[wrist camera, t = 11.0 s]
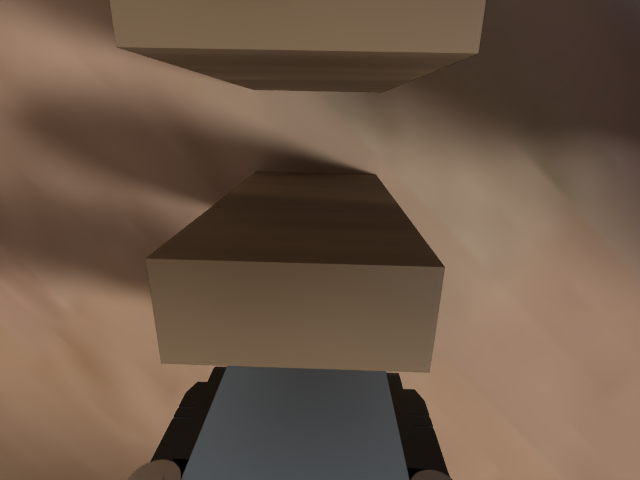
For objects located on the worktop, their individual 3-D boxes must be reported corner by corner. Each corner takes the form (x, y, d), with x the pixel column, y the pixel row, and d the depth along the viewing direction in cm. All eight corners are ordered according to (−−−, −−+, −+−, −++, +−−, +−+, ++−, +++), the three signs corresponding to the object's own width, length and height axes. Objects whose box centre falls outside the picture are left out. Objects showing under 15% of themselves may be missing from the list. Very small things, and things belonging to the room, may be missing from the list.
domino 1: (382, 92, 15) (478, 53, 5) (253, 89, 15) (116, 47, 5) (387, 30, 14) (507, -148, 4) (251, 28, 14) (87, -150, 5)
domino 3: (365, 332, 18) (406, 581, 8) (260, 329, 18) (181, 571, 8) (368, 292, 17) (417, 513, 8) (258, 289, 17) (170, 504, 8)
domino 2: (372, 223, 16) (429, 372, 7) (257, 220, 17) (161, 363, 7) (376, 174, 16) (444, 267, 6) (256, 171, 16) (145, 258, 6)
